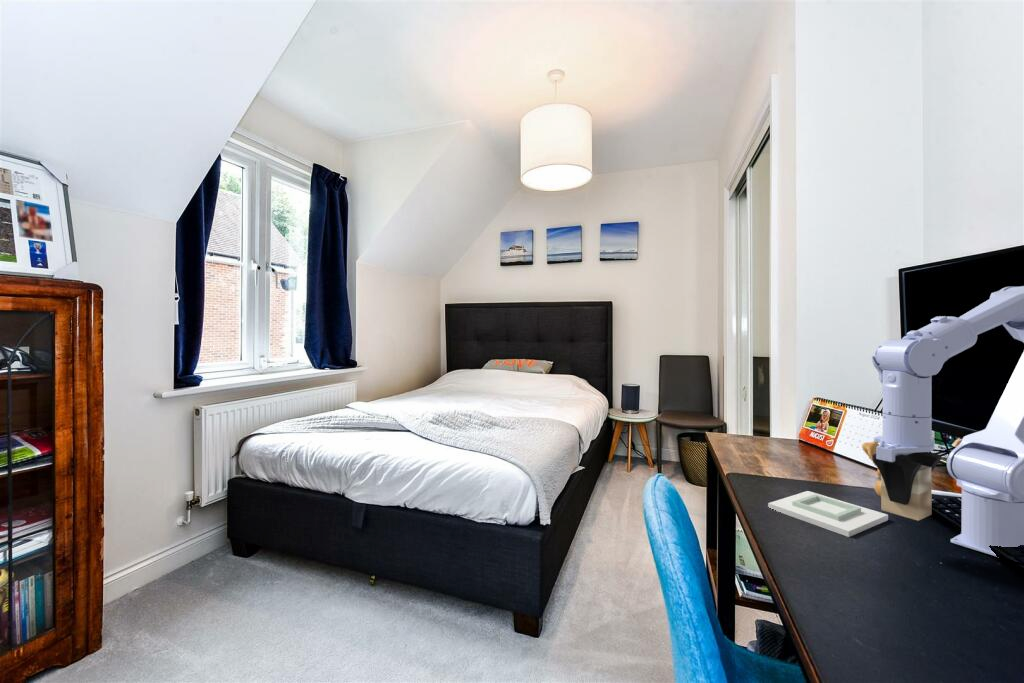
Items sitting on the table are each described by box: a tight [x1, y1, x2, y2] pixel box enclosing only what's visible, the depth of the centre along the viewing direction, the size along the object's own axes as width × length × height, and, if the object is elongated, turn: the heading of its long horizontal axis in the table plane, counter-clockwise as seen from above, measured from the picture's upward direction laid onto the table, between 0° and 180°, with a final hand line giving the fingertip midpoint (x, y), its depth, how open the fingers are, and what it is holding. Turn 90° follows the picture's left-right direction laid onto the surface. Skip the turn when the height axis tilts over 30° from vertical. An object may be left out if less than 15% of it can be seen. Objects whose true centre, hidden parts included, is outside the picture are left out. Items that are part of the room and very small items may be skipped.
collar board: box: [767, 490, 889, 538], centre depth 83 cm, size 14×14×2 cm
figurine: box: [861, 440, 881, 498], centre depth 90 cm, size 8×6×12 cm
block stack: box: [880, 465, 933, 521], centre depth 68 cm, size 5×5×8 cm
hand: (906, 499), depth 68 cm, fingers closed on block stack, 5 cm apart
